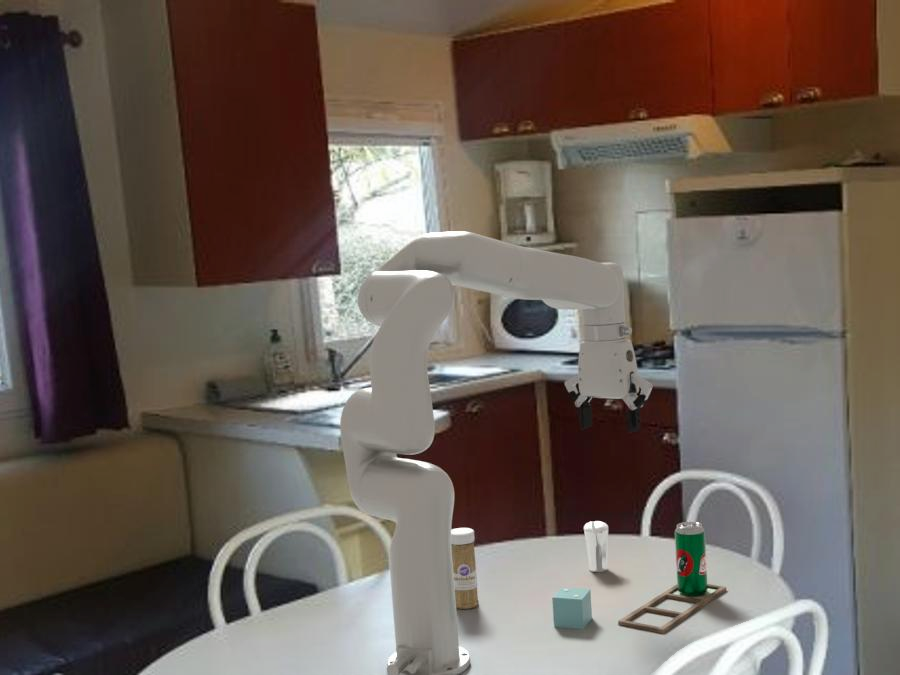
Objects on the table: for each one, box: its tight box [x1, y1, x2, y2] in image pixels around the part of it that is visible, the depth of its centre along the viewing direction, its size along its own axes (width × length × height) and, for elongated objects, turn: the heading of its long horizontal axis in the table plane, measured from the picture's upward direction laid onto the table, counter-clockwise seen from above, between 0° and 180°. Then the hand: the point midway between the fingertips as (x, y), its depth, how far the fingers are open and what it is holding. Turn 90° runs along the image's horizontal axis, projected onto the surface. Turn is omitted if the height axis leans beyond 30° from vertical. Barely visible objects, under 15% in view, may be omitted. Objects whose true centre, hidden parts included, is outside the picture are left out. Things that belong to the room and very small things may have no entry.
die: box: [552, 587, 593, 630], centre depth 183 cm, size 5×5×5 cm
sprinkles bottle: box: [451, 527, 480, 610], centre depth 195 cm, size 5×5×13 cm
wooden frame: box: [617, 583, 727, 634], centre depth 187 cm, size 23×8×1 cm, turn 141°
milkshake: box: [583, 520, 609, 573], centre depth 209 cm, size 5×5×10 cm
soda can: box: [674, 521, 708, 597], centre depth 192 cm, size 5×5×12 cm
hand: (610, 429), depth 197 cm, fingers open, 9 cm apart
